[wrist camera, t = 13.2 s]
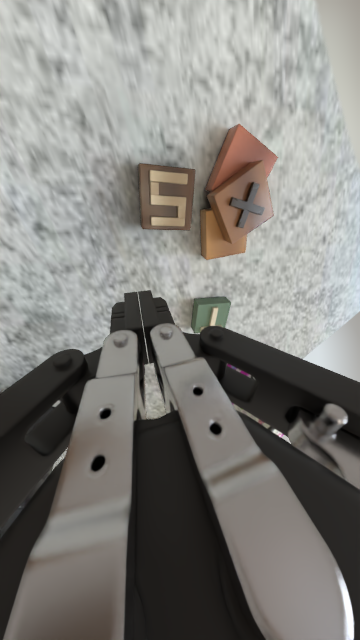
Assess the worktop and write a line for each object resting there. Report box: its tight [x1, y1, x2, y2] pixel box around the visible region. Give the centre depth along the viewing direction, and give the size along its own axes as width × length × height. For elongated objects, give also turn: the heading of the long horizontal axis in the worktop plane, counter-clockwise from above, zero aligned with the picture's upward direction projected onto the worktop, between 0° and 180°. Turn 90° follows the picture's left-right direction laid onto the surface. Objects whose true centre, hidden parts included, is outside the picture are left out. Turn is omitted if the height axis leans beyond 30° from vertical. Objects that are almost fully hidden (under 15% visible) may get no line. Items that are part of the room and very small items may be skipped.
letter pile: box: [200, 124, 278, 260], centre depth 23 cm, size 8×14×5 cm, turn 176°
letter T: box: [191, 297, 231, 333], centre depth 33 cm, size 6×6×3 cm
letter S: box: [138, 163, 195, 230], centre depth 21 cm, size 6×6×3 cm
